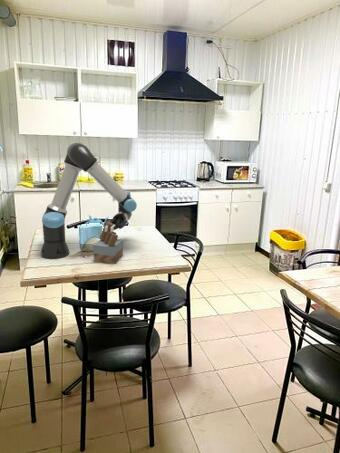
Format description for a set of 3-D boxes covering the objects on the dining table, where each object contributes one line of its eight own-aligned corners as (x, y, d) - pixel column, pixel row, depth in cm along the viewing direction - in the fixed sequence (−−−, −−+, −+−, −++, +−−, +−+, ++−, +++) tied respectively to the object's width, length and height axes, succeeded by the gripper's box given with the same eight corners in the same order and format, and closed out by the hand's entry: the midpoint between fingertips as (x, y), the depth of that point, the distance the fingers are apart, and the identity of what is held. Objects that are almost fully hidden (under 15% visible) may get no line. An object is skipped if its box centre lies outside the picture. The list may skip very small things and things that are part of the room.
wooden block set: (115, 250, 185) (123, 233, 183) (100, 245, 181) (108, 228, 180) (112, 238, 201) (119, 223, 199) (98, 233, 198) (105, 218, 196)
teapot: (81, 234, 235) (81, 219, 232) (90, 228, 249) (89, 214, 246) (102, 236, 232) (101, 221, 230) (109, 229, 247) (109, 216, 244)
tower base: (94, 262, 187) (94, 254, 186) (102, 254, 200) (102, 245, 199) (115, 264, 185) (115, 256, 184) (122, 255, 199) (122, 247, 197)
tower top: (92, 253, 186) (92, 244, 185) (103, 245, 199) (103, 237, 198) (113, 256, 184) (113, 247, 182) (123, 248, 197) (123, 239, 195)
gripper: (132, 226, 209) (122, 237, 186) (107, 224, 210) (94, 235, 188) (132, 214, 206) (122, 224, 184) (107, 212, 208) (94, 222, 186)
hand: (108, 229), depth 186 cm, fingers open, 2 cm apart
